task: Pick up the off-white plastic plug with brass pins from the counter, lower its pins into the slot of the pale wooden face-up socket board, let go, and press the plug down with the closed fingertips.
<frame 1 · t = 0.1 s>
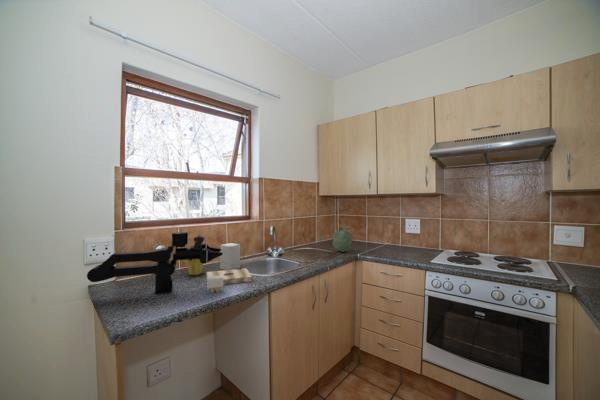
hand: (221, 251, 121), 17 cm above the worktop, tool horizontal, fingers open, 9 cm apart
plant pot: (194, 273, 139), on the worktop
supplement box: (230, 268, 150), on the worktop
cabbage: (341, 252, 205), on the worktop
plug: (214, 291, 113), on the worktop
socket board: (228, 278, 130), on the worktop
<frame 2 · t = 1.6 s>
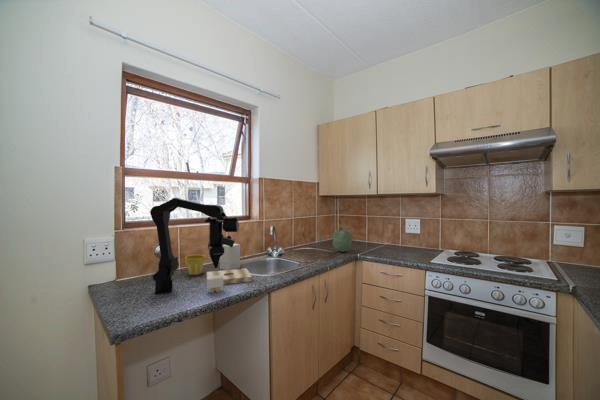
hand: (215, 265, 113), 12 cm above the worktop, tool pointing down, fingers open, 9 cm apart
nothing on the worktop moved.
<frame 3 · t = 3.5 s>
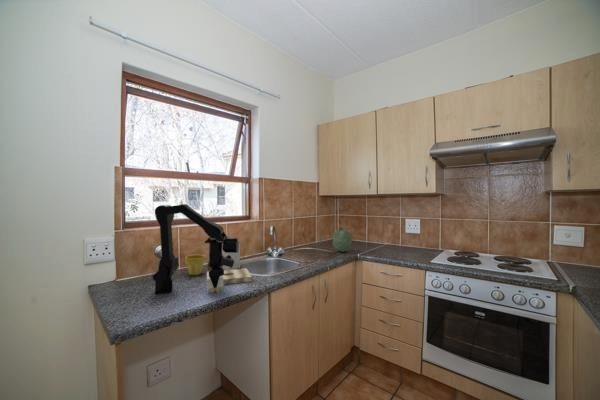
hand: (214, 285, 113), 3 cm above the worktop, tool pointing down, fingers closed on plug, 5 cm apart
plug: (214, 291, 113), on the worktop, touching gripper
everything else where it was.
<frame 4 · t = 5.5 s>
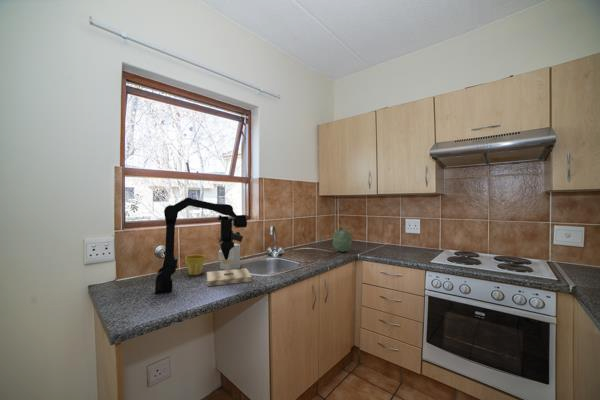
hand: (226, 258, 125), 12 cm above the worktop, tool pointing down, fingers closed on plug, 5 cm apart
plug: (226, 263, 125), point 10 cm above the worktop, touching gripper
everything else where it was.
when the fingers open (3 cm above the worktop, at t = 7.7 s): plug stays where it is, resting on socket board.
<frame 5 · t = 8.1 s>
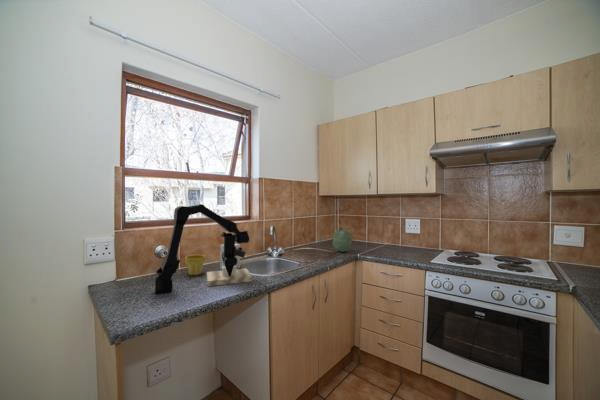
hand: (228, 273, 130), 3 cm above the worktop, tool pointing down, fingers open, 9 cm apart
plug: (228, 278, 130), resting on socket board
everything else where it was.
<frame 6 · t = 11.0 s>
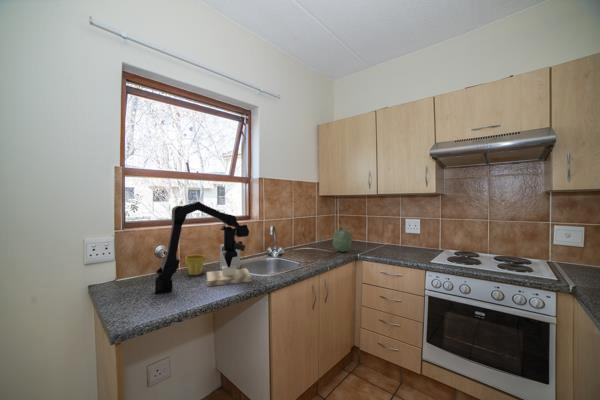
hand: (228, 266, 130), 6 cm above the worktop, tool pointing down, fingers closed, pressing on plug
plug: (228, 278, 130), resting on socket board, touching gripper
everything else where it was.
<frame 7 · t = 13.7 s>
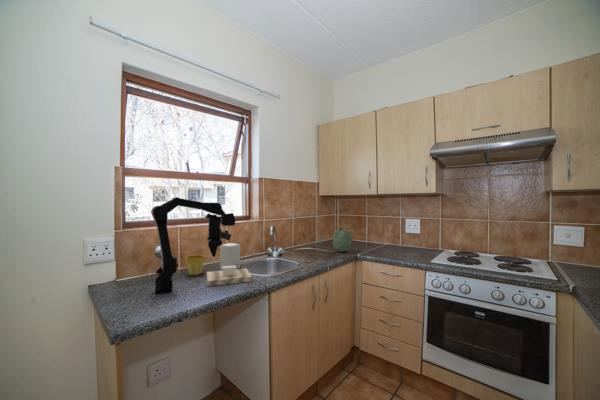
hand: (213, 256, 125), 13 cm above the worktop, tool pointing down, fingers closed
plug: (228, 278, 130), resting on socket board
everything else where it was.
at the end: plug 0.0 cm off-centre on the socket board, point 0.0 cm above the socket board's base; plug tilted 0°; the gripper is holding nothing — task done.
